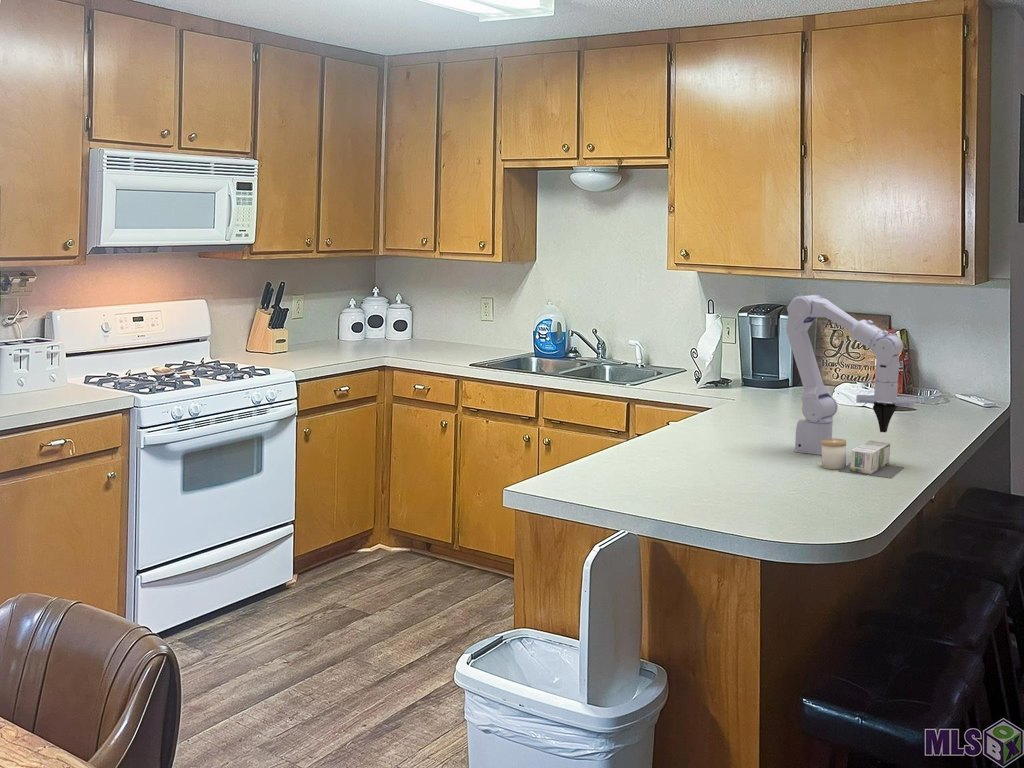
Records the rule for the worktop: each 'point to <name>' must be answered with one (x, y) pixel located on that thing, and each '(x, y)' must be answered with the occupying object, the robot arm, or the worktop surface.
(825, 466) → the canister
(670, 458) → the worktop surface
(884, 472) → the mat
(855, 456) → the syrup box
